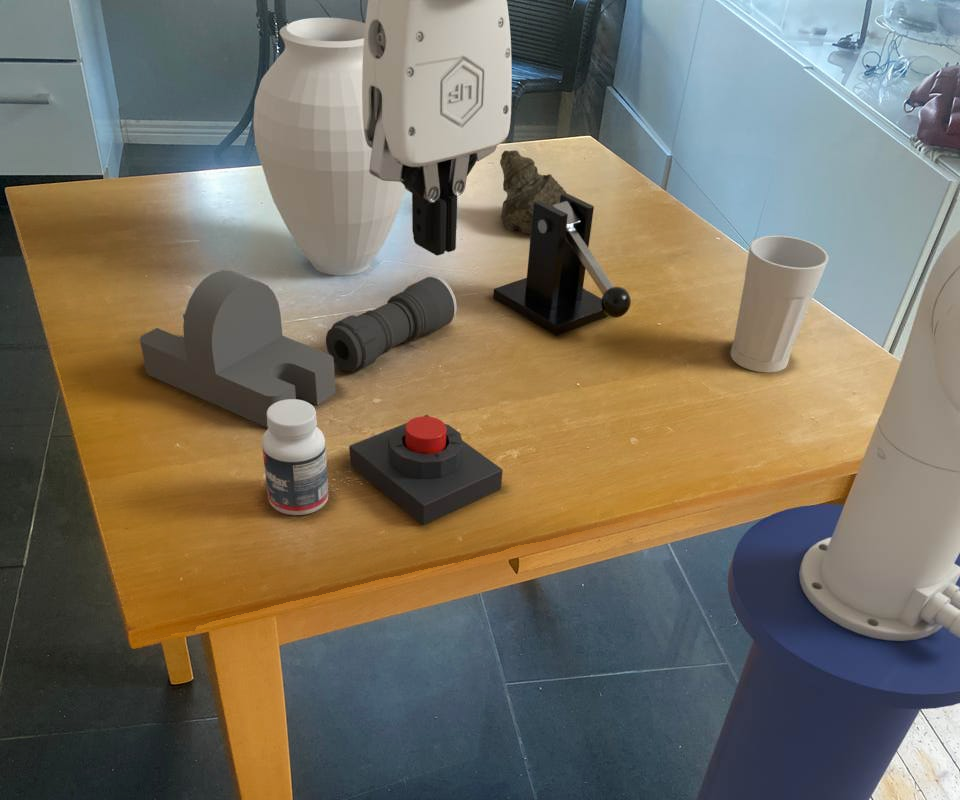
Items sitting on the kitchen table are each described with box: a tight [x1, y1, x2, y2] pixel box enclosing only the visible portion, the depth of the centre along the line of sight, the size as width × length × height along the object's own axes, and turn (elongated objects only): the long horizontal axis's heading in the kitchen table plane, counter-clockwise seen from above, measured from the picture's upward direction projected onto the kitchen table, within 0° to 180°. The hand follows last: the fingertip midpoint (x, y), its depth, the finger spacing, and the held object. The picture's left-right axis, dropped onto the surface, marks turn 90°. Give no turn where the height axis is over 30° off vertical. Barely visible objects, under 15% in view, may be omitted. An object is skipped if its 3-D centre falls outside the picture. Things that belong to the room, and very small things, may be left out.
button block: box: [348, 414, 504, 526], centre depth 88 cm, size 11×9×4 cm
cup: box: [730, 235, 829, 373], centre depth 105 cm, size 8×8×12 cm
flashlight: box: [325, 275, 458, 372], centre depth 104 cm, size 15×5×5 cm, turn 141°
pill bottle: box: [261, 398, 329, 516], centre depth 83 cm, size 5×5×9 cm
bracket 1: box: [139, 269, 336, 429], centre depth 96 cm, size 10×18×11 cm, turn 57°
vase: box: [253, 17, 406, 277], centre depth 111 cm, size 18×18×25 cm
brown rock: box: [499, 149, 598, 235], centre depth 128 cm, size 11×12×10 cm
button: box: [405, 415, 446, 454], centre depth 87 cm, size 4×4×2 cm
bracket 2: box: [492, 192, 609, 337], centre depth 111 cm, size 11×9×12 cm
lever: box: [552, 201, 632, 318], centre depth 108 cm, size 14×3×3 cm, turn 40°
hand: (434, 246), depth 75 cm, fingers closed
